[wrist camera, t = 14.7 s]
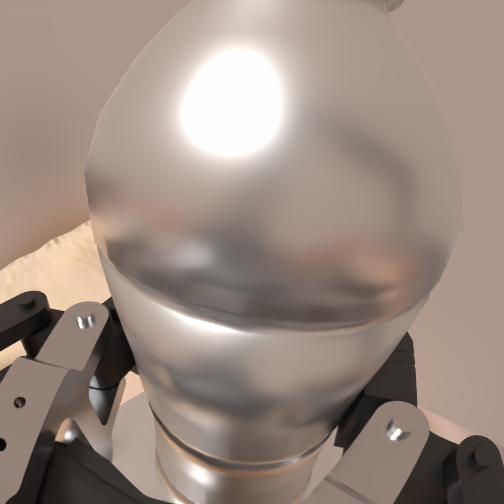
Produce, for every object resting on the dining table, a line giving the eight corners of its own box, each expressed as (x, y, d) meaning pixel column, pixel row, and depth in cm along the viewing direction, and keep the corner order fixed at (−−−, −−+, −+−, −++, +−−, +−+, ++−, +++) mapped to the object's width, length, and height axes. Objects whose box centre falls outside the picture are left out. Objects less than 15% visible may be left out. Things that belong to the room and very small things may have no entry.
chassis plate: (412, 461, 14) (446, 427, 12) (247, 659, 2) (257, 682, 1) (225, 351, 22) (227, 308, 21) (40, 460, 11) (7, 425, 9)
